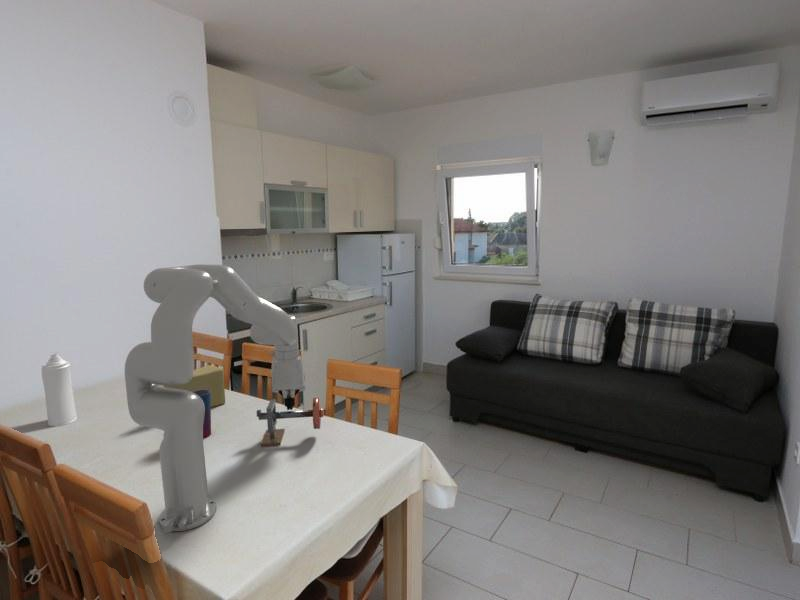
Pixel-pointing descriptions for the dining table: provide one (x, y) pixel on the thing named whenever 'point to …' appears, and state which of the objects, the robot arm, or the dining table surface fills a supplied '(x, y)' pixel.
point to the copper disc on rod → (299, 414)
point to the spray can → (58, 391)
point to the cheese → (207, 383)
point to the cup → (207, 417)
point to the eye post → (272, 428)
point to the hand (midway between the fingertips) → (290, 408)
